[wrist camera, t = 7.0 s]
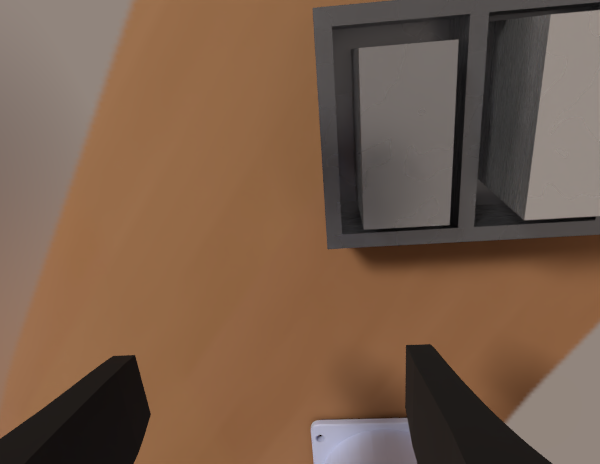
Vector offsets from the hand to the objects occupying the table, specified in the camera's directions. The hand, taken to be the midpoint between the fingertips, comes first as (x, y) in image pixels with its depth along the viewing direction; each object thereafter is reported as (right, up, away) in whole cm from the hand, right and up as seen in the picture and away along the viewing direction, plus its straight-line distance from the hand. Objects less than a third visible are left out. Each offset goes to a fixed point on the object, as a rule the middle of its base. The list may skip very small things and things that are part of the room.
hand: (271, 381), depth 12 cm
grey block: (+10, +9, +6) cm, 14 cm away
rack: (+7, +9, +7) cm, 13 cm away
